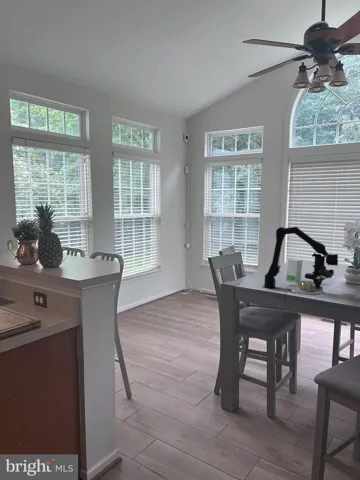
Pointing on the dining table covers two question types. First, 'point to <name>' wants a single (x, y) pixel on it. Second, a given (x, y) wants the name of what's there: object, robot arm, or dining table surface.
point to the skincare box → (294, 270)
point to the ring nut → (308, 286)
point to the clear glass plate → (302, 291)
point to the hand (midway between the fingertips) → (317, 289)
